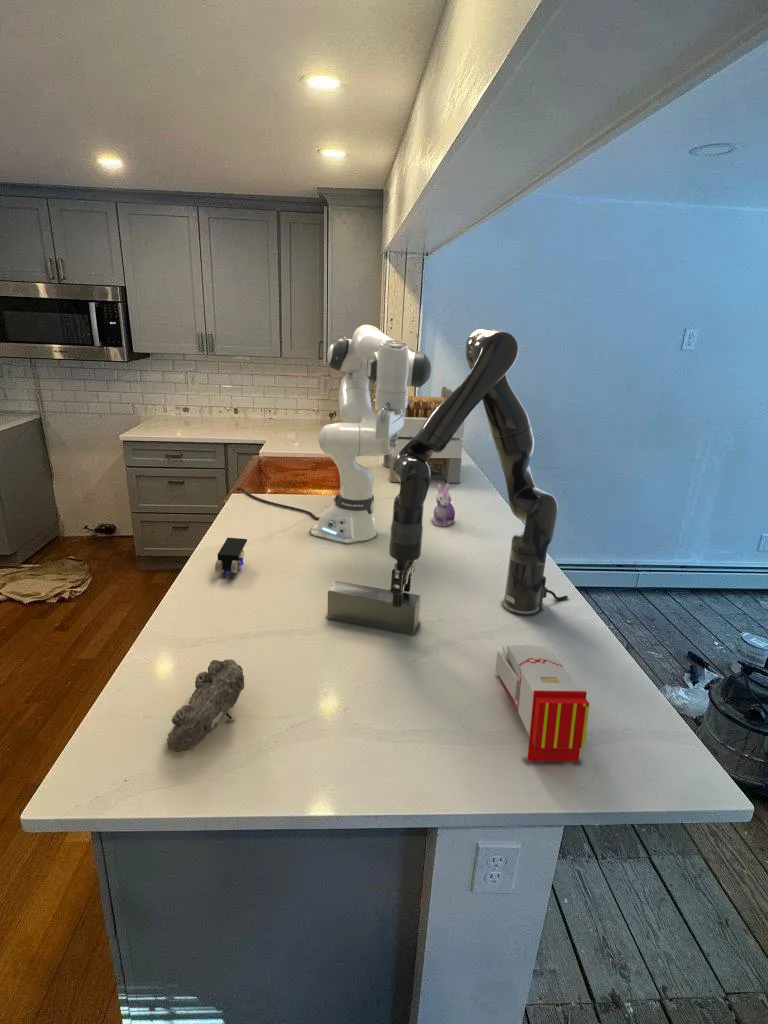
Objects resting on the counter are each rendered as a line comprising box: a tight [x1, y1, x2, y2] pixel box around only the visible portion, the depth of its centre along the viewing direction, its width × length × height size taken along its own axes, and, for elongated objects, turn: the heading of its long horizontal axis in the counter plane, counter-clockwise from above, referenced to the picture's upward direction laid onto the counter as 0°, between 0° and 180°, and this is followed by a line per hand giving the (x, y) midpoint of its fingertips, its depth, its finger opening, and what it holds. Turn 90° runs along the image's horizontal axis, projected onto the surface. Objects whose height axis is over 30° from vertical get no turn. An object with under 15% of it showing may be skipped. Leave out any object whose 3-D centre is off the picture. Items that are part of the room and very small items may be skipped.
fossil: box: [166, 658, 245, 754], centre depth 106 cm, size 22×10×15 cm
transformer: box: [383, 386, 466, 484], centre depth 268 cm, size 34×33×41 cm
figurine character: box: [214, 537, 248, 578], centre depth 166 cm, size 7×8×15 cm
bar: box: [327, 580, 421, 635], centre depth 143 cm, size 22×6×8 cm, turn 74°
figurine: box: [432, 482, 456, 527], centre depth 210 cm, size 9×10×15 cm
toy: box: [494, 644, 590, 762], centre depth 112 cm, size 12×13×30 cm
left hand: (389, 449), depth 163 cm, fingers open, 8 cm apart
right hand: (401, 598), depth 139 cm, fingers open, 8 cm apart
